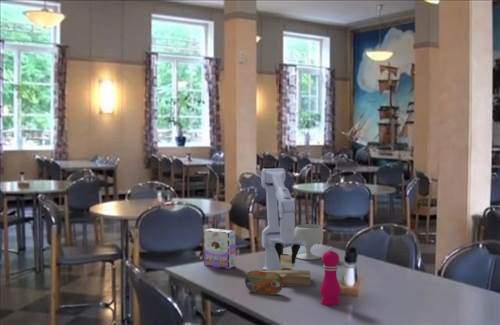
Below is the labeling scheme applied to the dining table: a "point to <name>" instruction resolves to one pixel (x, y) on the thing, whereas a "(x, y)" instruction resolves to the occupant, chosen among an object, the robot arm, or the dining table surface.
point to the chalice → (308, 239)
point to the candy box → (219, 248)
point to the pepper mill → (330, 279)
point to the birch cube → (286, 260)
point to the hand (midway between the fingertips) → (287, 262)
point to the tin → (264, 282)
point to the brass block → (294, 277)
